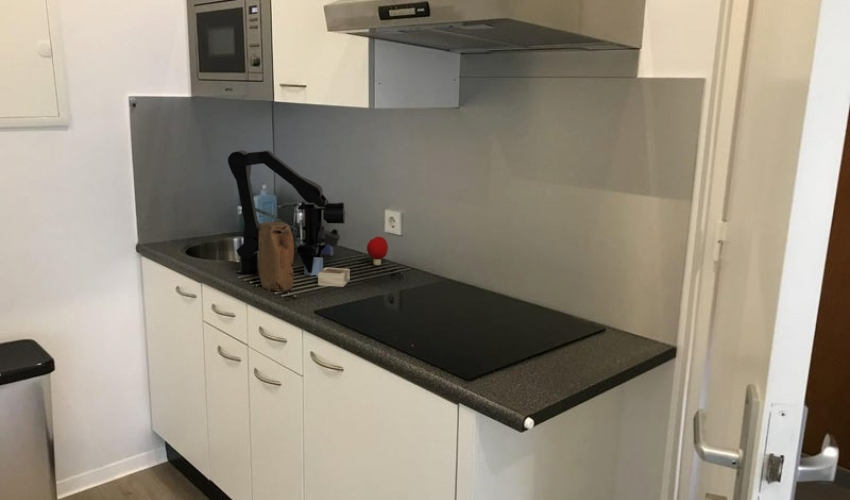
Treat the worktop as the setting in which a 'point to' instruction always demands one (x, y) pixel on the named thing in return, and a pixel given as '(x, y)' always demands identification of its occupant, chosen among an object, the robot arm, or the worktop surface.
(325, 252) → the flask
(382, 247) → the red toy tree
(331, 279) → the beech base
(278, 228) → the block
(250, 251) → the robot arm
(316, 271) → the slate cube
